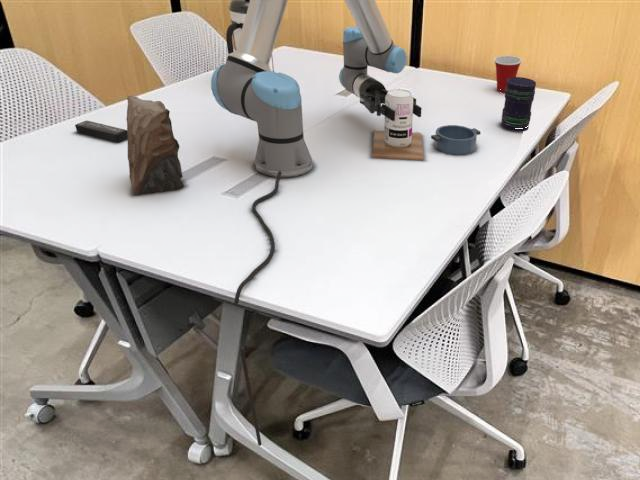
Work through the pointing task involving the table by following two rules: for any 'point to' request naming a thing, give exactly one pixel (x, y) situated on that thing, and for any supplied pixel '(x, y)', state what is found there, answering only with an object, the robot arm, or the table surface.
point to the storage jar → (518, 103)
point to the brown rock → (151, 148)
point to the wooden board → (386, 151)
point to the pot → (455, 139)
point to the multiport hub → (102, 131)
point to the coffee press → (238, 25)
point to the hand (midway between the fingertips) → (407, 114)
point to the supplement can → (399, 118)
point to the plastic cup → (506, 70)
